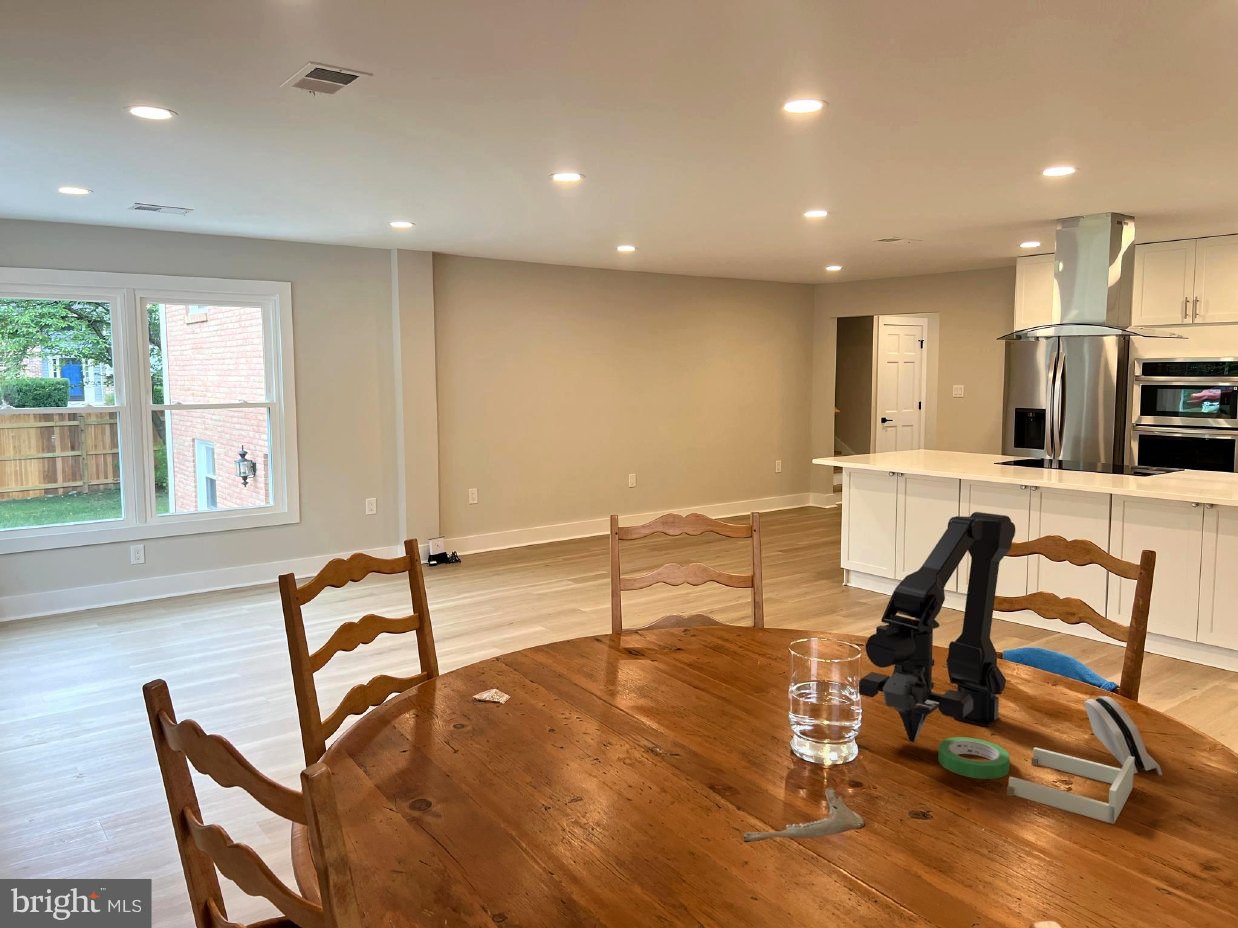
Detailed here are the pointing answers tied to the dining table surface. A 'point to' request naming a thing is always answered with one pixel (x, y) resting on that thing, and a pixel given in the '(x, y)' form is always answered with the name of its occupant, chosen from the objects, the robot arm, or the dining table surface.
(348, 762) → the dining table surface
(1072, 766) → the frame
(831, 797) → the jawbone
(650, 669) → the dining table surface
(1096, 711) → the white curved piece
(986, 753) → the tape roll
